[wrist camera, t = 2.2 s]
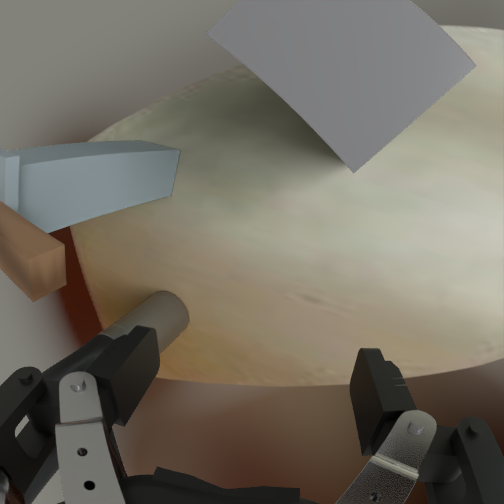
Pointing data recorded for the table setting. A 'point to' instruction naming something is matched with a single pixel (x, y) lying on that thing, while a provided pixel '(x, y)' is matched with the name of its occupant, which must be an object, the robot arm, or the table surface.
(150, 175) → the tall plinth
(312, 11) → the grey tall block
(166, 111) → the table surface
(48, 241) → the brown wooden bar
